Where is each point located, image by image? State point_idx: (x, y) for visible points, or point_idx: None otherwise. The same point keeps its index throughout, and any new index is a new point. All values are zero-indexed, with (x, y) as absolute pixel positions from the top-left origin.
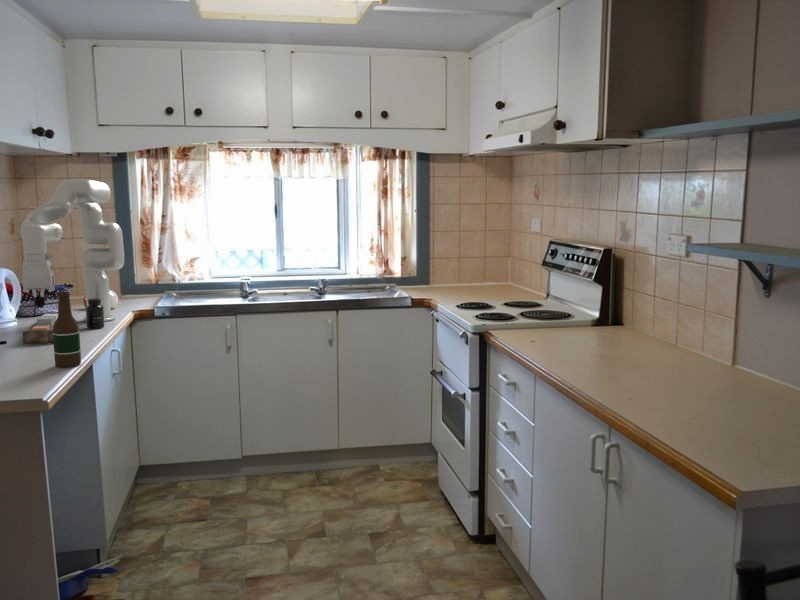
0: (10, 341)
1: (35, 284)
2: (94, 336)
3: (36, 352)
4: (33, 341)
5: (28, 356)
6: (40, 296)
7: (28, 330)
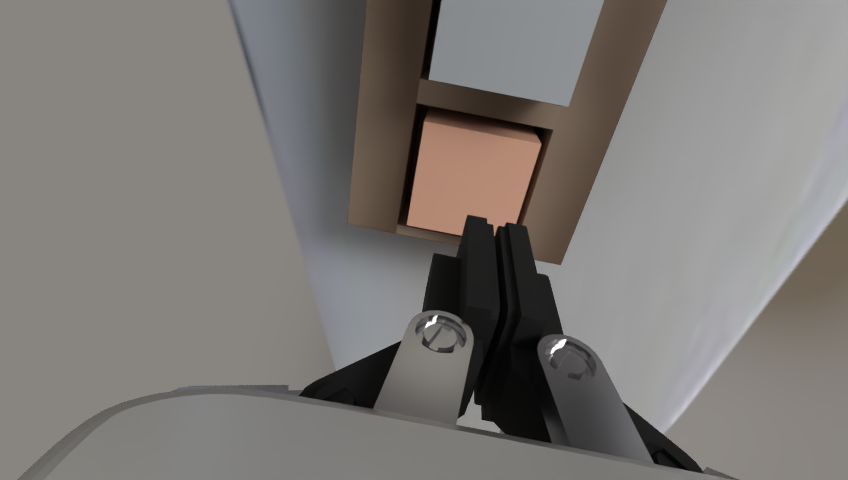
0: (262, 36)
1: None
2: (844, 69)
3: None
4: None
5: None
6: (499, 407)
7: (384, 210)
